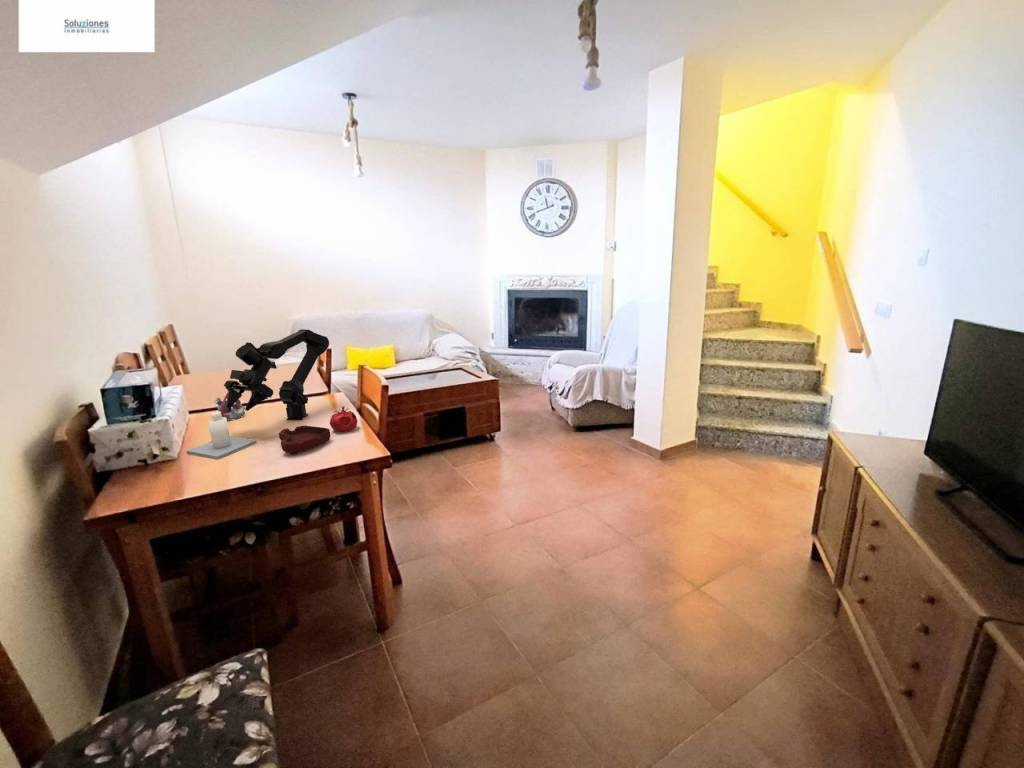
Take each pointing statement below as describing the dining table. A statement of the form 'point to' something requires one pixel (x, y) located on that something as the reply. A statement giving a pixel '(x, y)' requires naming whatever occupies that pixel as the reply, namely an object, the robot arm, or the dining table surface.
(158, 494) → the dining table surface
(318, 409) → the dining table surface
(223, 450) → the board
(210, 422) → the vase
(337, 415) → the pomegranate
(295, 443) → the ashtray
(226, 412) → the grey red pointed piece
